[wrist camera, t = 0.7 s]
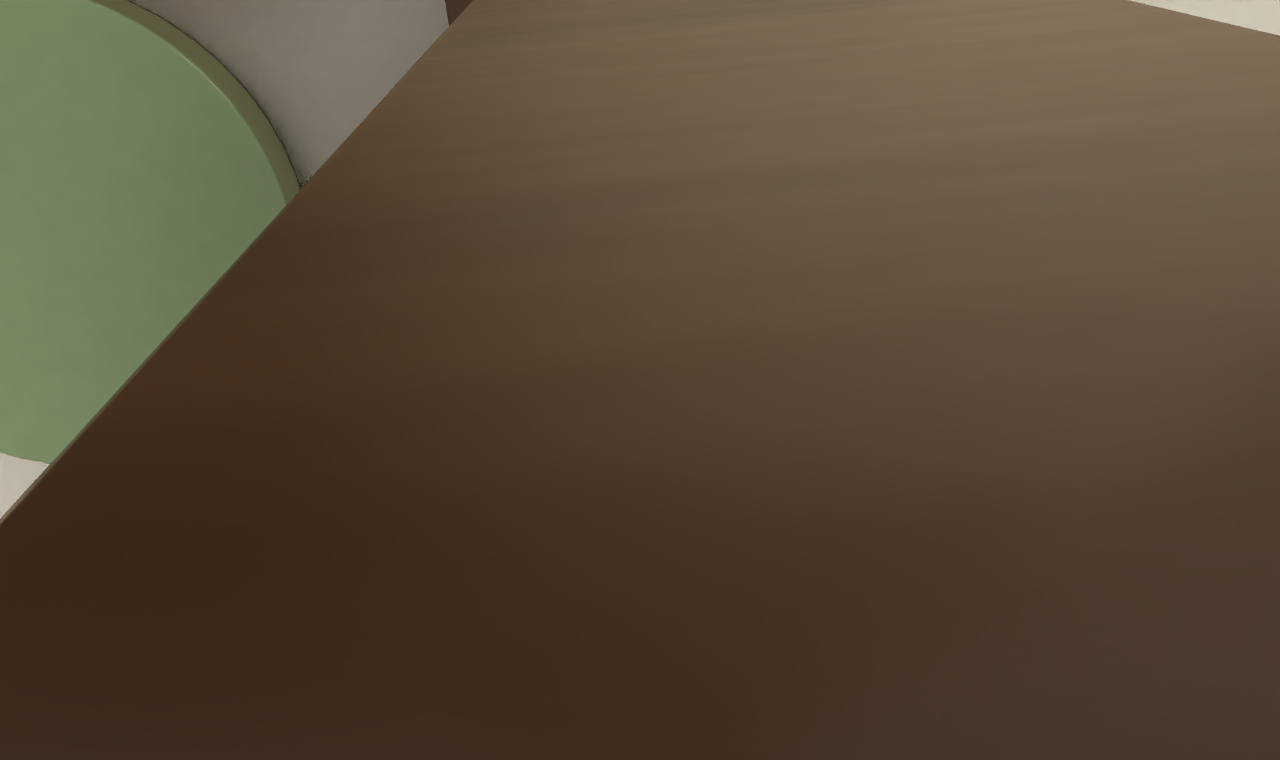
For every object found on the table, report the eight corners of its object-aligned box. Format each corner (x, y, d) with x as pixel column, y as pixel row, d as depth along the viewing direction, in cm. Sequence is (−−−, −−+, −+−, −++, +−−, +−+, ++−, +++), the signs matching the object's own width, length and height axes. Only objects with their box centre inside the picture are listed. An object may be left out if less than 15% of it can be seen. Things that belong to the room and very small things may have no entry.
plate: (-280, 0, 23) (-323, 6, 22) (249, -51, 23) (232, -47, 22) (-89, 464, 28) (-116, 488, 26) (352, 421, 28) (343, 444, 26)
